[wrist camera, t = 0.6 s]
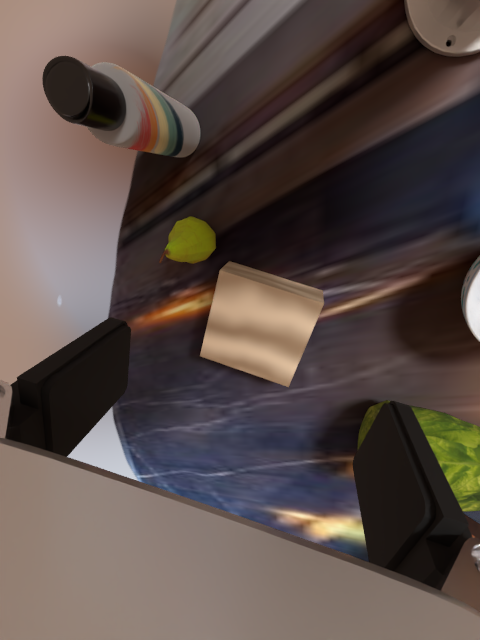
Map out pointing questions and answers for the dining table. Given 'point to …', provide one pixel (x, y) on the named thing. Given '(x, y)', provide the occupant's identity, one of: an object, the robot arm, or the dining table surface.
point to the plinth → (260, 322)
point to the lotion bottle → (120, 107)
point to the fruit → (190, 241)
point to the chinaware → (472, 299)
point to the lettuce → (447, 450)
